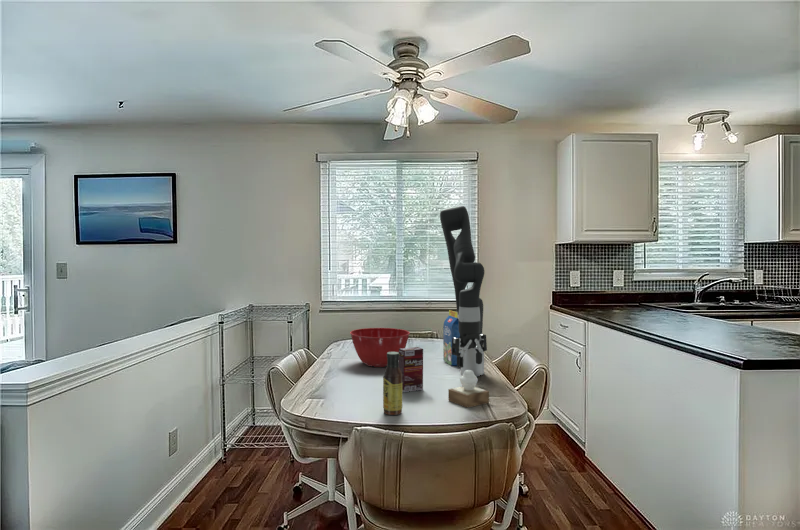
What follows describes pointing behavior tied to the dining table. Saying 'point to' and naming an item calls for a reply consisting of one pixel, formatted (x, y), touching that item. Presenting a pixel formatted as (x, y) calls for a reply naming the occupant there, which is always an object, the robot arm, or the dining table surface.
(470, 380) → the white fluted ornament
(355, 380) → the dining table surface
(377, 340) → the mixing bowl
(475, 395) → the base
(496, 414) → the dining table surface
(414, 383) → the supplement box
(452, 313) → the blue food package
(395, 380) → the sauce bottle
